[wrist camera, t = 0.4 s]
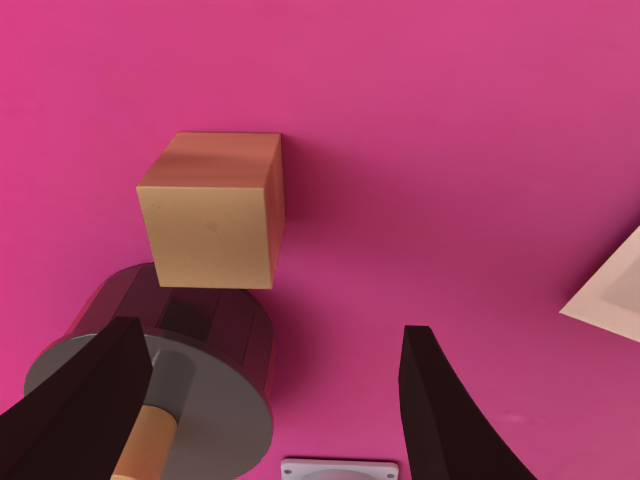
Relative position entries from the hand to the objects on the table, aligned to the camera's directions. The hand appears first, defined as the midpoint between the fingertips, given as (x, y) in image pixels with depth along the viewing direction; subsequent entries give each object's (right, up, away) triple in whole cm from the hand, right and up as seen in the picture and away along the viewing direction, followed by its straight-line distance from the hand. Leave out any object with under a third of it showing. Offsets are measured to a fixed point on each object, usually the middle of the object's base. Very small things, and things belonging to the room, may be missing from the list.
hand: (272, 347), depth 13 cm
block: (-3, +6, +8) cm, 11 cm away
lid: (-7, -5, +10) cm, 13 cm away
